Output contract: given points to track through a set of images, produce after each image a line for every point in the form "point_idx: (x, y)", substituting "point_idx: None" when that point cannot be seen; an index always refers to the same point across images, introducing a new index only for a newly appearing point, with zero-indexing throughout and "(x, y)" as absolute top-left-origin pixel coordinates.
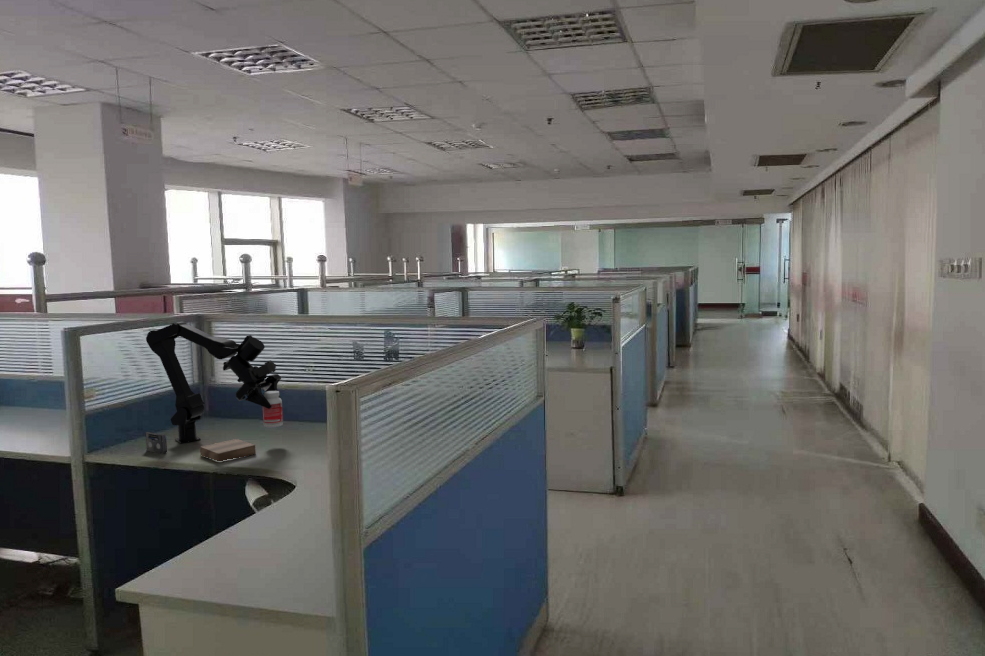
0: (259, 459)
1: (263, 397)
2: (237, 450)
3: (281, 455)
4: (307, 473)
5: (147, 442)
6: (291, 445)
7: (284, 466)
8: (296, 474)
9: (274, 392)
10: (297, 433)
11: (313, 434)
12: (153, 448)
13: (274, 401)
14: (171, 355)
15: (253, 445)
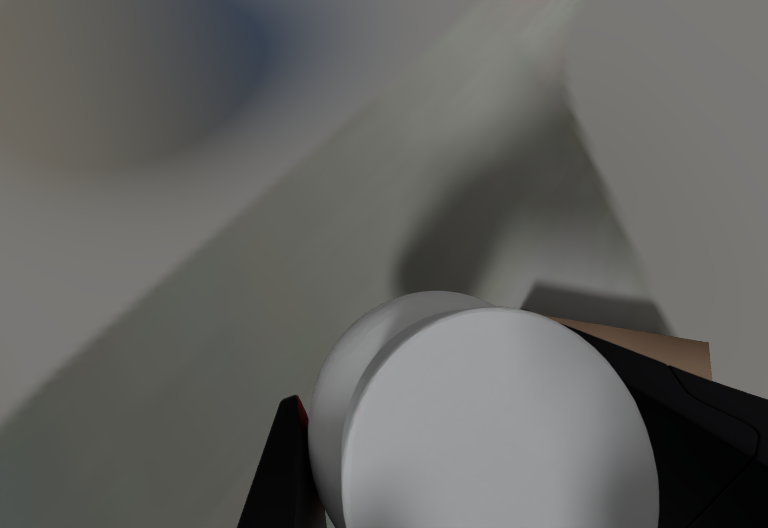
0: (543, 245)
1: (687, 380)
2: (619, 328)
3: (462, 211)
4: (533, 3)
5: None
6: (336, 293)
7: (535, 105)
8: (557, 24)
9: (501, 370)
10: (125, 475)
11: (109, 365)
12: None
13: (492, 304)
14: None
15: (547, 316)
